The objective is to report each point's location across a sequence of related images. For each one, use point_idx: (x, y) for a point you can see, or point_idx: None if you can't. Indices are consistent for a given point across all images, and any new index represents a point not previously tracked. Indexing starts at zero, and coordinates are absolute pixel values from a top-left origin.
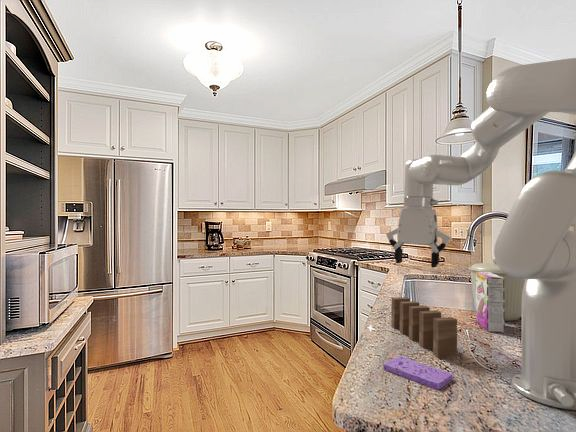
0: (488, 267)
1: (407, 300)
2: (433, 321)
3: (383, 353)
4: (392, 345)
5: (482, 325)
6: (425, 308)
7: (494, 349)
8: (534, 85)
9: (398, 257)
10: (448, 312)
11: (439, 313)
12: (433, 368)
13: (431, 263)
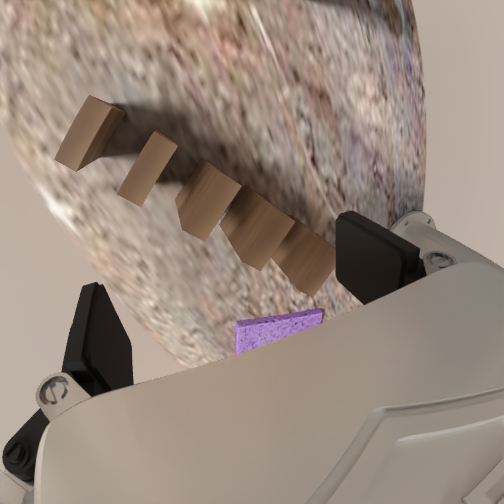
0: None
1: (107, 118)
2: (295, 285)
3: (195, 318)
4: (178, 272)
5: None
6: (231, 198)
7: (342, 119)
8: None
9: (131, 373)
10: None
11: (290, 225)
12: (298, 320)
13: (348, 288)
